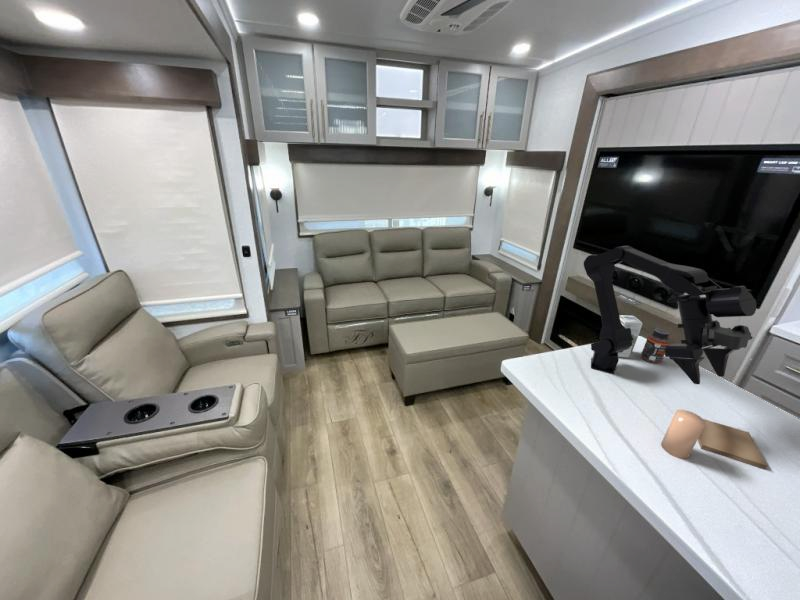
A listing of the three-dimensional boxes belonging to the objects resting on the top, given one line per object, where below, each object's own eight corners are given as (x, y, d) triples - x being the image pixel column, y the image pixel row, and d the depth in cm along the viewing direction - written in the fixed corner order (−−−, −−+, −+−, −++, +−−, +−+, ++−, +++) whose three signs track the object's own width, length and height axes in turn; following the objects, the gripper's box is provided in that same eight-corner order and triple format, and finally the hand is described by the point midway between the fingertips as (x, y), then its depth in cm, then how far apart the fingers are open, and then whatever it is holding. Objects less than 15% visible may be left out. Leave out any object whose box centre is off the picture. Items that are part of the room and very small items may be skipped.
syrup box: (621, 349, 115) (633, 314, 109) (630, 358, 109) (643, 322, 103) (605, 348, 115) (615, 314, 109) (613, 357, 110) (625, 321, 104)
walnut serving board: (700, 448, 75) (702, 444, 74) (690, 419, 83) (692, 415, 83) (765, 469, 69) (767, 465, 69) (746, 435, 78) (748, 432, 78)
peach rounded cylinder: (662, 452, 74) (677, 420, 70) (659, 437, 78) (673, 406, 74) (691, 462, 71) (708, 430, 67) (686, 446, 75) (702, 414, 71)
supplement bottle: (655, 365, 105) (667, 337, 101) (636, 357, 110) (647, 329, 106) (665, 361, 108) (676, 332, 103) (646, 352, 113) (656, 325, 108)
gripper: (711, 322, 67) (727, 394, 66) (763, 310, 73) (778, 377, 72) (656, 324, 78) (669, 386, 77) (705, 313, 83) (717, 371, 82)
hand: (709, 380), depth 77 cm, fingers open, 9 cm apart
